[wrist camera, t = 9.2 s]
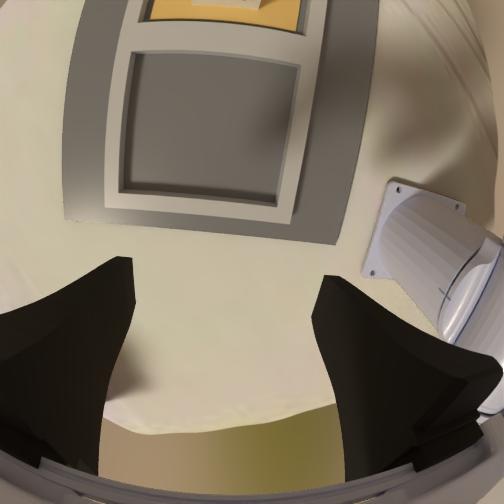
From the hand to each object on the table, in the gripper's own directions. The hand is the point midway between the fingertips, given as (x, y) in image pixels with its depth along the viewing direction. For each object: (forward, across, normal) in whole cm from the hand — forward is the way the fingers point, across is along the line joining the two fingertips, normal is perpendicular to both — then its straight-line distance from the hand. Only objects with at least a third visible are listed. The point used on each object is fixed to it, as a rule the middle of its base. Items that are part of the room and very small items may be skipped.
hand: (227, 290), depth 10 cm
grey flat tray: (+9, +2, -11) cm, 15 cm away
